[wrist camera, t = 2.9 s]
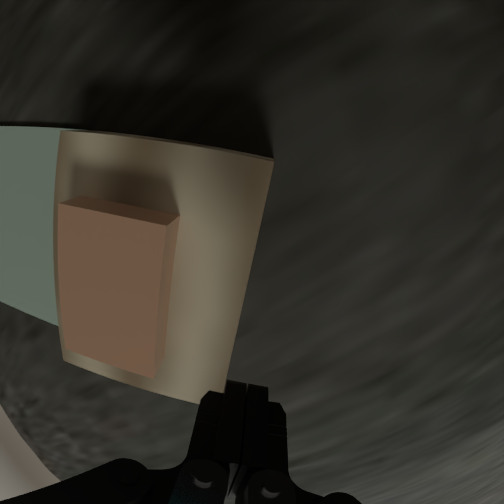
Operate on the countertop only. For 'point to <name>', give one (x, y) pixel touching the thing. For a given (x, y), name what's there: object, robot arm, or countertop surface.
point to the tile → (116, 281)
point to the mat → (28, 218)
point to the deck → (187, 246)
